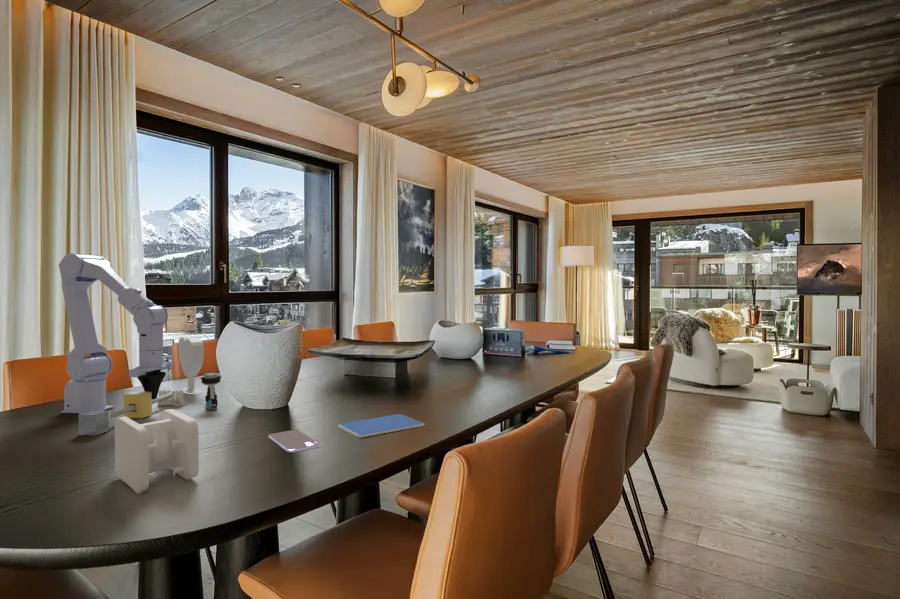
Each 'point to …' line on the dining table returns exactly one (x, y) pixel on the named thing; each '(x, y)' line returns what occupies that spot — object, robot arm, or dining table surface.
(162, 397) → the rod
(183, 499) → the dining table surface
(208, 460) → the dining table surface
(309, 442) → the mobile phone
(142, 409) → the matte pale yellow cube
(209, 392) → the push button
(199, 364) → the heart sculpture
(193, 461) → the cable organizer
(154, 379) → the robot arm
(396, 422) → the tablet computer
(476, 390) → the dining table surface
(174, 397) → the cable comb
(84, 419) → the connector
